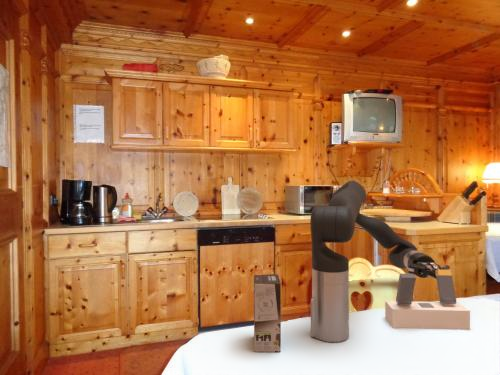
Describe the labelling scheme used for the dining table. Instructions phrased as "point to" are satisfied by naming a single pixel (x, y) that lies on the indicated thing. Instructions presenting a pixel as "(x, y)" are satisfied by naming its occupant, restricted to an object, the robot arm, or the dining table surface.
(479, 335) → the dining table surface
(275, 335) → the coffee box
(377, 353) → the dining table surface
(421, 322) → the beige lever base
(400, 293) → the lever left
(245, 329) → the dining table surface
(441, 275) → the lever right
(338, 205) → the robot arm
